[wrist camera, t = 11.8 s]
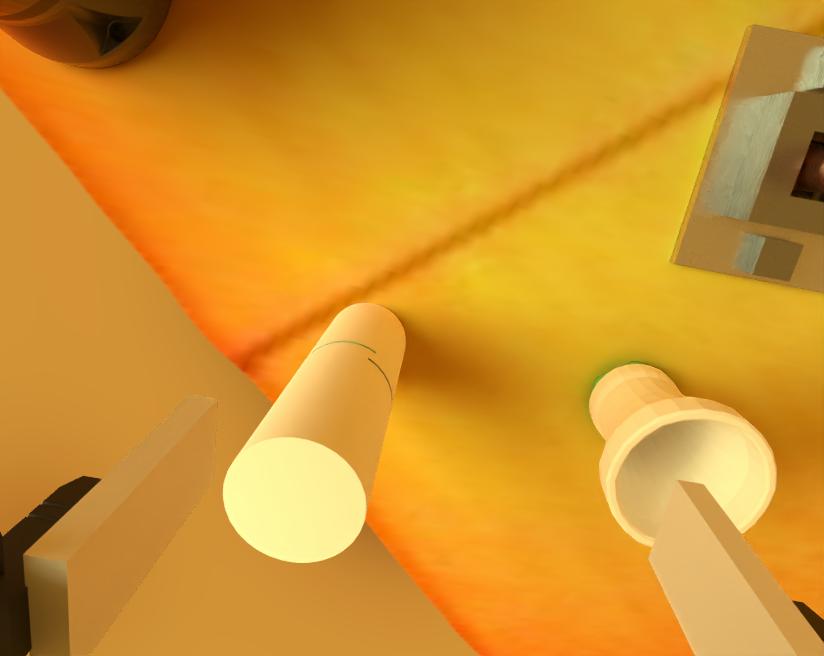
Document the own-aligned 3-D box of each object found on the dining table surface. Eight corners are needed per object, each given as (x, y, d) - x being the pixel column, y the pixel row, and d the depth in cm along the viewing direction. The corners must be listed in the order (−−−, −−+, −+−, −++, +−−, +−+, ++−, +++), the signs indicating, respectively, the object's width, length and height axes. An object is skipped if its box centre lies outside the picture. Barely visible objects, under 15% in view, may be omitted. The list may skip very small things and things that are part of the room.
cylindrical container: (365, 391, 53) (295, 586, 29) (312, 336, 52) (193, 493, 28) (422, 344, 51) (396, 510, 27) (368, 286, 50) (292, 408, 26)
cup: (546, 373, 51) (579, 452, 38) (663, 318, 49) (744, 381, 35) (596, 470, 54) (644, 577, 40) (710, 422, 52) (802, 518, 38)
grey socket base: (669, 261, 48) (694, 273, 43) (746, 27, 42) (784, 11, 37) (834, 293, 47) (876, 308, 43) (932, 62, 42) (994, 50, 37)
